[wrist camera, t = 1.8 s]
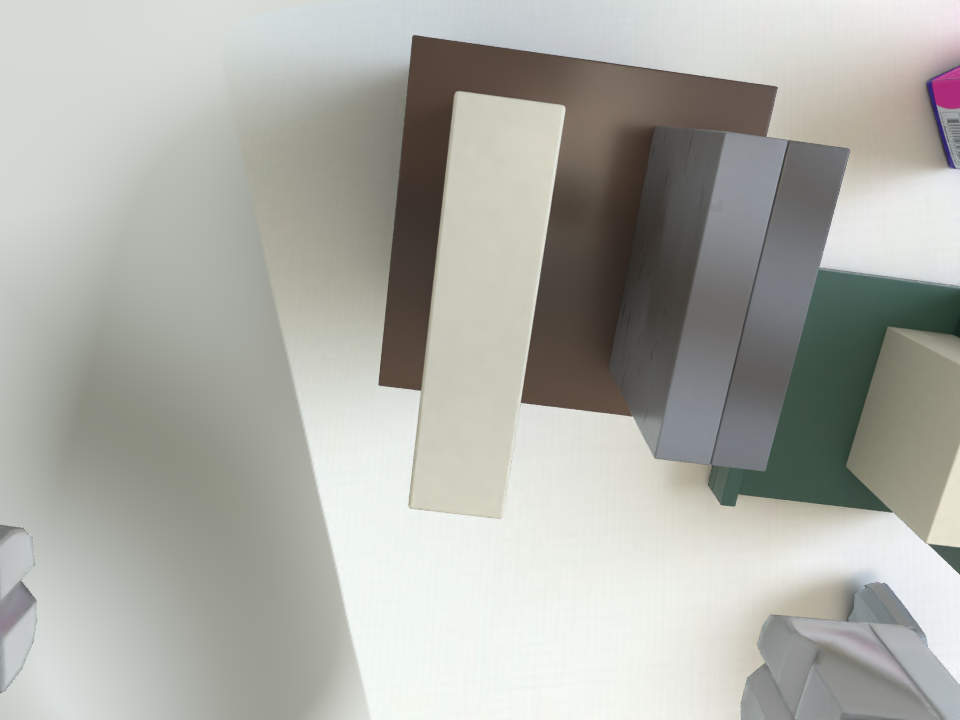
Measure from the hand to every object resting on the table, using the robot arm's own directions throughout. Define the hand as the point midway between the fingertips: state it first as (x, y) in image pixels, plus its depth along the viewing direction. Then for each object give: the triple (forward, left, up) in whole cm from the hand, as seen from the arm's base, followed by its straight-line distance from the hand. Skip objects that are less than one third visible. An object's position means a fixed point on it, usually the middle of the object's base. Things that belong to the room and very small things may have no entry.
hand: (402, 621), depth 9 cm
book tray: (+9, +26, -42) cm, 51 cm away
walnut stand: (-1, +4, -42) cm, 42 cm away
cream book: (-1, +1, -24) cm, 24 cm away
